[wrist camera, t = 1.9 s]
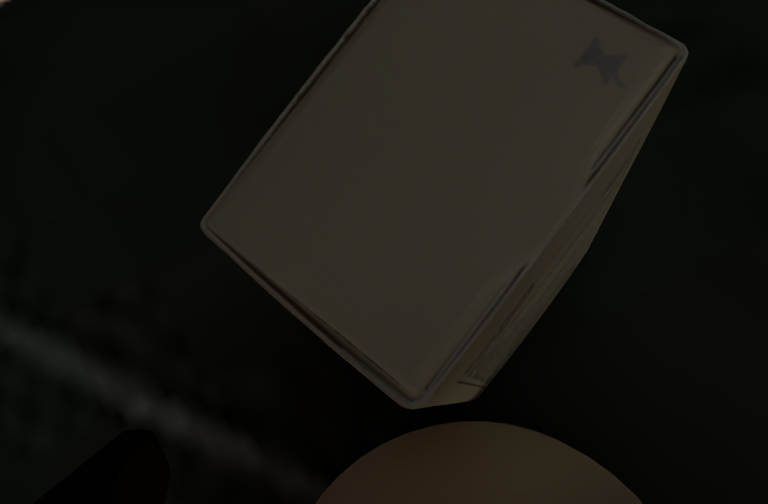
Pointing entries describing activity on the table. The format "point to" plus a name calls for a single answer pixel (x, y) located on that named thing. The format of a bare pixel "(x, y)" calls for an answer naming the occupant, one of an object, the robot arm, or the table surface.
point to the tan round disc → (476, 470)
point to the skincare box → (445, 180)
